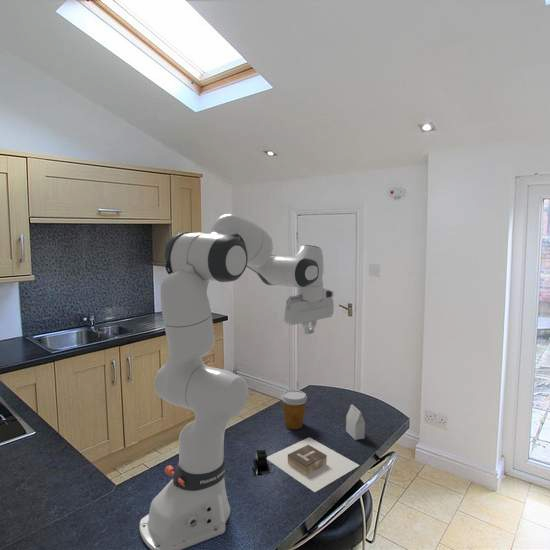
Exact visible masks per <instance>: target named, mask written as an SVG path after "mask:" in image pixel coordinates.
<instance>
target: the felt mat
mask: <svg viewBox="0 0 550 550" xmlns="http://www.w3.org/2000/svg"><path fill="white" fill-rule="evenodd" d="M307 445H310V446H312V447H313V448H315V449H317V450H318V451H320V452H322V453H324V454H325V455H327V463H326V465H324V466H322V467H321V468H319V469H317V470H315V471H313V472H312V473H310V474H308V475H304V474H303V473H301V472H300V471H298V470H297V469H295V468H294V467H292V466H291V465H289V464H288V454H290V453H292V452H294V451H296V450H298V449H300V448H302V447H304V446H307ZM267 461H268V462H270V463H272V464H273V465H274V466H276V467H277V468H279V469H280V470H282V471H283V472H284V473H286V474H288V475H289V476H290V477H291V478H293V479H295V480H296V481H298V482H299V483H301V484H302V485H303V486H304V487H306V488H308V490H311V491H312V492H313V493H316V492H317V491H320V490H322V489H323V488H324V487H327V486H328V485H329V484H332V483H334V482H335V481H336V480H337V479H340V478H341V477H343V476H345V475H346V474H348V473H351V472H352V471H353V470H355V469H356V468H358V467H360V464H358V463H356V462H355V461H353V460H351V459H349V458H348V457H345V456H344V455H342V454H340V453H339V452H336V451H335V450H334V449H331V448H329V447H328V446H326V445H324V444H323V443H320V442H318V441H317V440H315V439H313V438H312V437H310V436H309V437H307V438H305V439H302V440H299V441H298V442H296V443H294V444H292V445H290V446H287V447H285V448H284V449H280V450H279V451H277V452H275V453H272V454H270V455H268V456H267Z"/></svg>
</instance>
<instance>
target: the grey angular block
mask: <svg viewBox="0 0 550 550" xmlns="http://www.w3.org/2000/svg"><path fill="white" fill-rule="evenodd" d="M345 418H346V419H345V421H346V422H345V432H346V433H348V434H349V436H351V437H352V438H353V439H354V441H356V440H365V437H366V434H365V433H366V430H365V429H366V421H365V420H364V417H363V414H362V411H360V410H359V409H358V408H357V407H356V405H354V404H350V405H349V409H348V411H347V413H346V417H345Z"/></svg>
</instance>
